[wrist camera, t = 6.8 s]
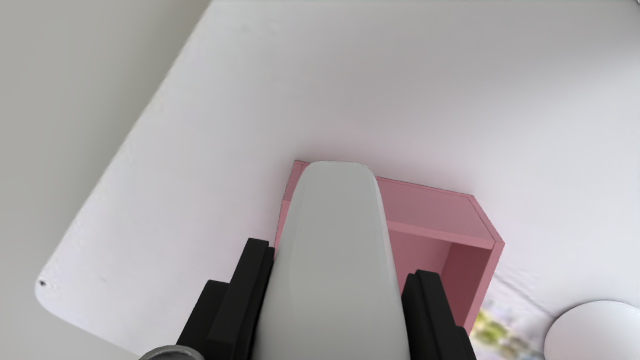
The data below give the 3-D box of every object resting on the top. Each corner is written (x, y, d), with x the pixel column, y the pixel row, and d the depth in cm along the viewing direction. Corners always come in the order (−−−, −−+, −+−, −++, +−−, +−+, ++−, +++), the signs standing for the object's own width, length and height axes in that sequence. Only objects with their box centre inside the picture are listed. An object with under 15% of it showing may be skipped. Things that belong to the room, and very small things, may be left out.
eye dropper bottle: (431, 200, 16) (645, 672, 5) (344, 313, 18) (343, 850, 6) (324, 135, 15) (263, 493, 4) (245, 259, 17) (51, 746, 6)
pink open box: (294, 159, 33) (282, 199, 26) (473, 195, 33) (505, 243, 27) (264, 327, 38) (247, 395, 32) (417, 357, 39) (432, 430, 32)
